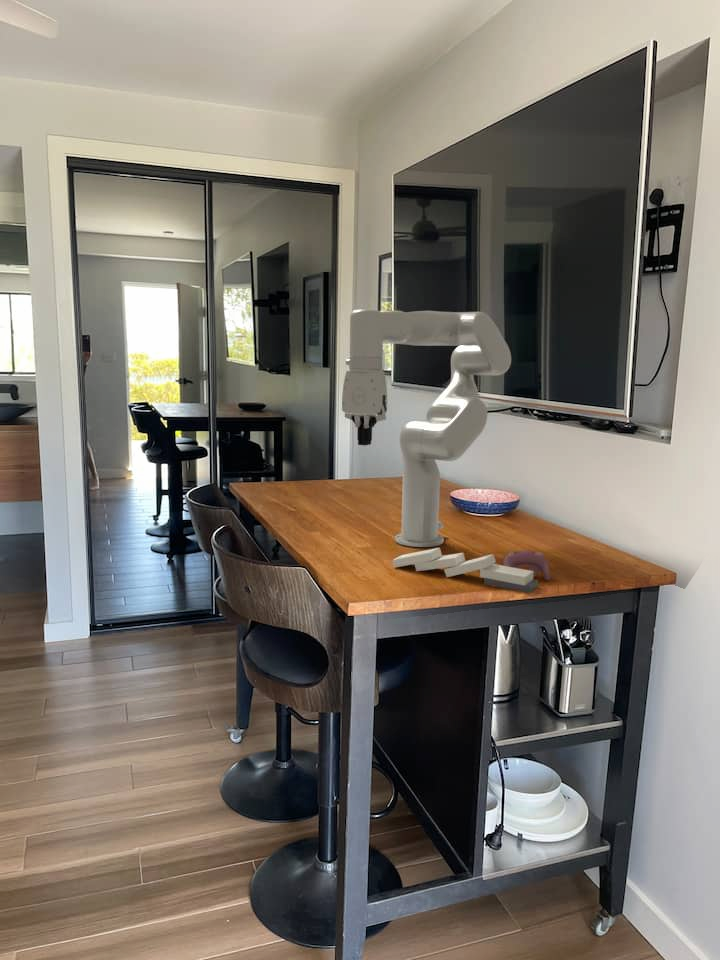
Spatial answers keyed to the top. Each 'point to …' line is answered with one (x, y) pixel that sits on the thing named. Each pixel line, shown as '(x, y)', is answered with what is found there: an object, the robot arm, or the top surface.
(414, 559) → the domino
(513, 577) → the domino
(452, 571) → the domino
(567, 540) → the top surface
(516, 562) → the video game controller
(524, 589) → the domino
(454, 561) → the domino
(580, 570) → the top surface
